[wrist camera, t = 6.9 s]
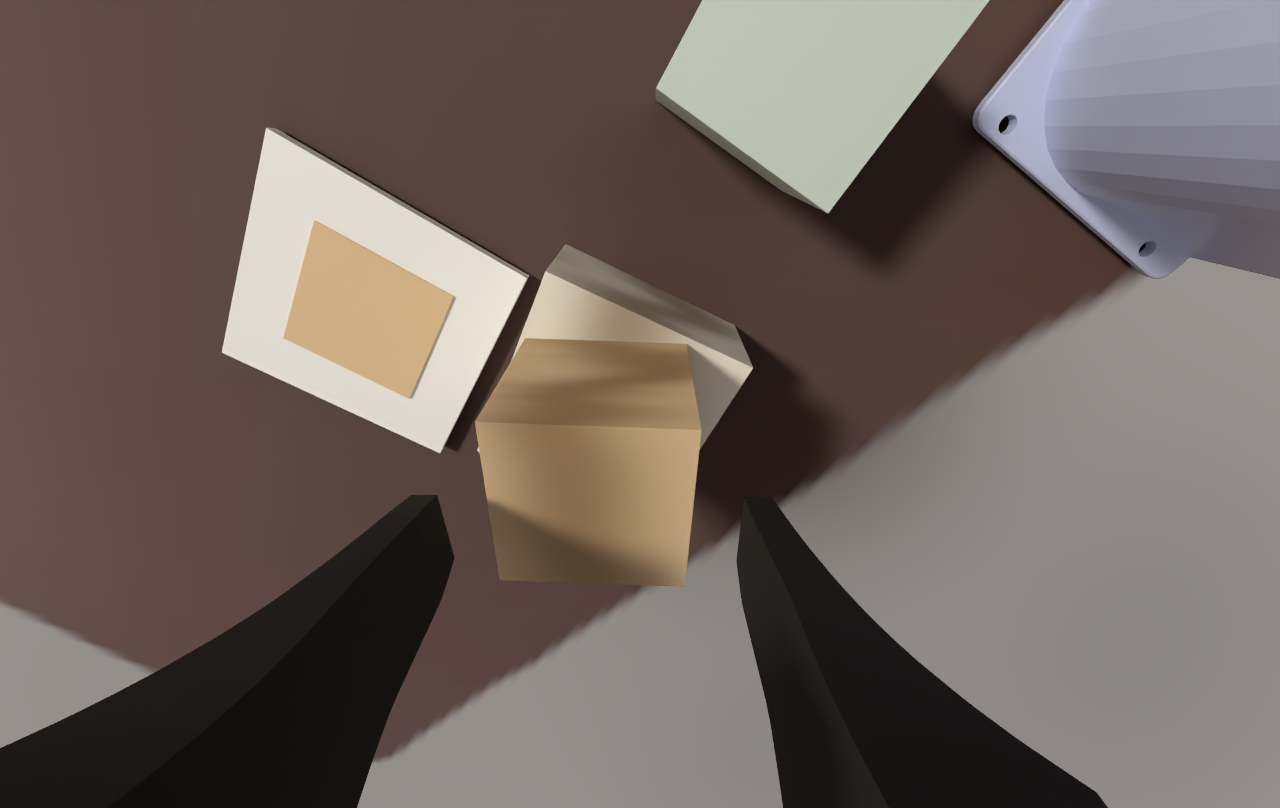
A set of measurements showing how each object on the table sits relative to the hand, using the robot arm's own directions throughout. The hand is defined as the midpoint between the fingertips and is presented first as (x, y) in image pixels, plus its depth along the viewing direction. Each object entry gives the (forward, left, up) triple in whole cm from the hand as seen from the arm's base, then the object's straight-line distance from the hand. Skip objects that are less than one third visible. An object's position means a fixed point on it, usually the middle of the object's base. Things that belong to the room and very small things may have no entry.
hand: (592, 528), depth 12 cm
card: (+9, +3, -9) cm, 13 cm away
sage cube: (+1, -11, -9) cm, 14 cm away
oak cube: (0, 0, -6) cm, 6 cm away
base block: (0, 0, -10) cm, 10 cm away
